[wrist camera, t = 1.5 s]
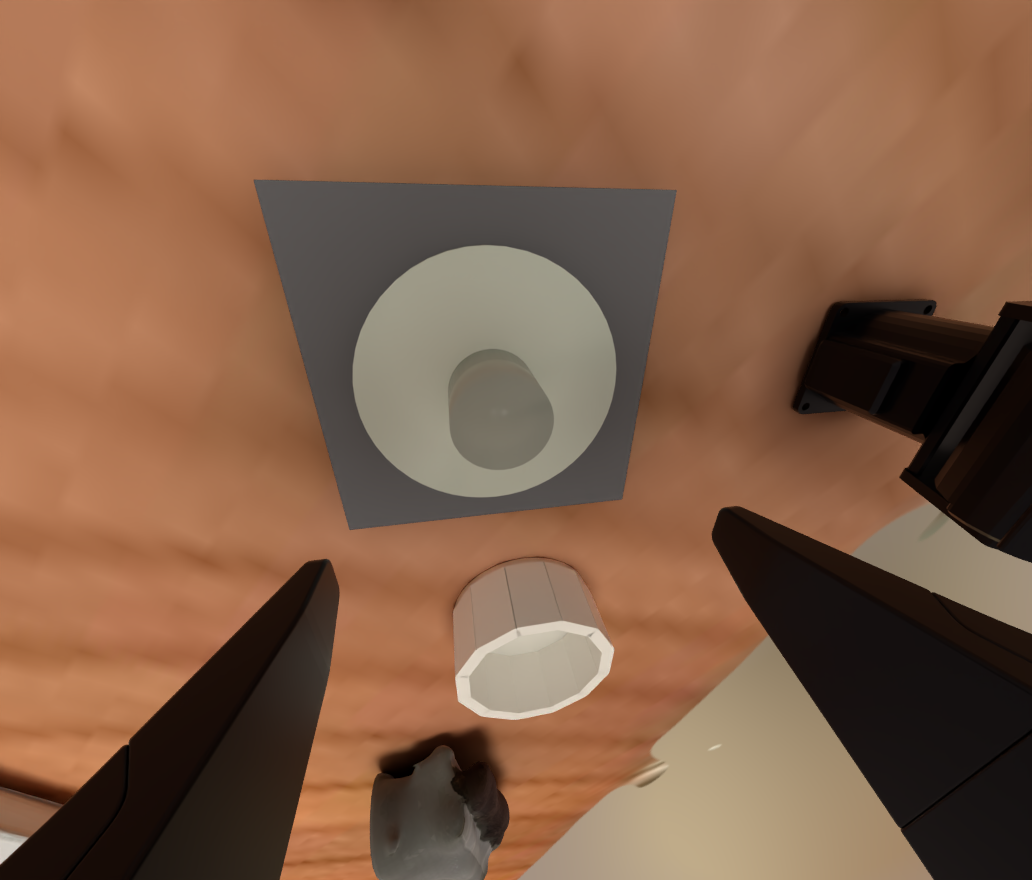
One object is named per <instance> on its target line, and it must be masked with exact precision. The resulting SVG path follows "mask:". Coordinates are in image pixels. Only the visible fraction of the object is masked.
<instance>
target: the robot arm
mask: <svg viewBox="0 0 1032 880" xmlns="http://www.w3.org/2000/svg"><path fill="white" fill-rule="evenodd" d="M935 309H936V302H935V301H933V300H927V299H915V300H879V301H843V302H838V303H836V304H835V305H834V306H833V307H832V308H831V310H830V312H829V315H828V317H827V320H826V322H825V325H824V328H823V330H822V333H821V335H820V338H819V340H818V343H817V345H816V348H815V351H814V353H813V356H812V358H811V361H810V363H809V366H808V368H807V371H806V374H805V376H804V379H803V381H802V384H801V386H800V389H799V391H798V394H797V396H796V399H795V402H794V404H793V410H794V411H796V412H798V413H800V414H811V413H823V412H835V411H849V412H851V413H854V414H856V415H858V416H860V417H863V418H865V419H867V420H870V421H872V422H874V423H876V424H879V425H881V426H883V427H885V428H888V429H890V430H892V431H894V432H897V433H899V434H901V435H904V436H906V437H908V438H910V439H913V440H915V441H917V442H919V443H922V445H921V447H920V449H919V450H918V452H917V453H916V455H915V457H914V458H913V460H912V462H911V463H910V465H909V466H908V468H904V470H903V472H902V473H901V475H900V477H899V478H900V479H902V480H903V481H904V482H905V483H907V484H908V485H909V486H910V487H912V488H913V489H914V490H915V491H916V492H918V493H919V494H920V495H921V496H923V497H924V498H925V499H926V500H928V501H929V502H930V503H932V504H933V505H934V506H935V507H937V508H938V509H939V510H940V511H942V512H943V513H944V514H945V515H947V516H948V517H949V518H950V519H952V520H953V521H954V522H956V523H957V524H958V525H959V526H961V527H962V528H963V529H964V530H966V531H967V532H968V533H970V534H971V535H972V536H973V537H975V538H976V539H977V540H978V541H980V542H981V543H983V544H984V545H986V546H988V547H991V548H994V549H998V550H1000V551H1002V552H1004V553H1007V554H1009V555H1012V556H1014V557H1017V558H1019V559H1022V560H1025V561H1028V562H1031V563H1032V301H1018V302H1006V303H1005V305H1004V306H1003V308H1002V309H1001V311H1000V313H999V314H998V315H999V316H1001V317H1000V318H999V320H998V322H997V323H996V325H995V326H994V327H991V326H985V325H980V324H974V323H968V322H962V321H957V320H951V319H945V318H939V317H933V316H932V315H933V313H934V311H935ZM840 312H841V313H840ZM712 540H713V543H714V545H715V546H716V548H717V550H718V552H719V554H720V556H721V557H722V559H723V561H724V563H725V565H726V566H727V568H728V570H729V572H730V574H731V576H732V577H733V579H734V581H735V583H736V585H737V586H738V588H739V590H740V592H741V593H742V595H743V597H744V599H745V600H746V602H747V603H748V605H749V606H750V608H751V610H752V611H753V612H754V614H755V615H756V617H757V618H758V620H759V621H760V623H761V624H762V626H763V627H764V629H765V630H766V632H767V633H768V635H769V636H770V638H771V639H772V641H773V642H774V643H775V645H776V646H777V648H778V649H779V651H780V652H781V654H782V655H783V657H784V658H785V660H786V661H787V663H788V664H789V666H790V667H791V669H792V670H793V671H794V673H795V675H796V676H797V678H798V679H799V681H800V682H801V683H802V685H803V686H804V688H805V689H806V691H807V692H808V694H809V695H810V697H811V698H812V700H813V701H814V703H815V704H816V706H817V707H818V709H819V710H820V712H821V713H822V714H823V716H824V717H825V719H826V720H827V722H828V723H829V725H830V726H831V728H832V729H833V730H834V732H835V734H836V735H837V737H838V738H839V739H840V741H841V743H842V744H843V746H844V747H845V748H846V750H847V752H848V753H849V754H850V756H851V757H852V759H853V760H854V762H855V763H856V765H857V766H858V768H859V769H860V771H861V772H862V774H863V775H864V777H865V778H866V780H867V781H868V783H869V784H870V786H871V787H872V788H873V790H874V791H875V793H876V794H877V796H878V797H879V799H880V800H881V802H882V803H883V805H884V806H885V808H886V809H887V811H888V812H889V814H890V815H891V817H892V818H893V820H894V821H895V823H896V824H897V825H898V827H900V828H901V832H902V833H903V835H904V836H905V838H906V839H907V841H908V842H909V844H910V845H911V847H912V848H913V850H914V851H915V853H916V854H917V855H918V857H919V859H920V860H921V862H922V863H923V864H924V866H925V867H926V869H927V870H928V872H929V873H930V875H931V876H932V878H933V879H934V880H1032V634H1030V633H1028V632H1025V631H1023V630H1021V629H1018V628H1016V627H1013V626H1010V625H1008V624H1006V623H1003V622H1001V621H998V620H996V619H994V618H992V617H989V616H987V615H985V614H982V613H980V612H978V611H975V610H973V609H971V608H968V607H966V606H963V605H961V604H959V603H957V602H955V601H952V600H950V599H948V598H946V597H943V596H941V595H938V594H936V593H933V592H932V593H931V592H930V591H929V590H927V589H925V588H923V587H921V586H918V585H916V584H914V583H912V582H909V581H907V580H905V579H902V578H900V577H898V576H895V575H894V574H891V573H889V572H887V571H884V570H882V569H880V568H878V567H875V566H873V565H871V564H869V563H866V562H864V561H862V560H860V559H857V558H855V557H853V556H851V555H848V554H846V553H844V552H842V551H839V550H837V549H835V548H833V547H830V546H828V545H826V544H824V543H821V542H819V541H817V540H815V539H812V538H810V537H808V536H806V535H803V534H801V533H799V532H796V531H794V530H792V529H790V528H787V527H785V526H783V525H781V524H778V523H776V522H774V521H772V520H769V519H767V518H765V517H763V516H760V515H758V514H756V513H754V512H751V511H749V510H747V509H745V508H742V507H739V506H732V507H725V508H722V509H721V510H720V511H719V513H718V516H717V519H716V522H715V525H714V528H713V531H712ZM338 604H339V585H338V582H337V579H336V576H335V573H334V570H333V566H332V564H331V562H330V561H329V560H328V559H321V560H313V561H309V562H307V563H305V564H304V565H303V566H302V567H301V568H300V569H299V570H298V571H297V572H296V573H295V574H294V575H293V576H292V577H291V578H290V579H289V580H288V581H287V582H286V583H285V584H284V585H283V586H282V587H281V588H280V589H279V590H278V591H277V592H276V593H275V594H274V595H273V596H272V597H271V598H270V599H269V600H268V601H267V602H266V603H265V604H264V605H263V606H262V607H261V608H260V609H259V610H258V611H257V612H256V613H255V614H254V615H253V616H252V617H251V618H250V619H249V620H248V621H247V622H246V623H245V624H244V625H243V626H242V627H241V628H240V629H239V630H238V631H237V632H236V633H235V634H234V635H233V636H232V637H231V638H230V639H229V640H228V641H227V642H226V643H225V644H224V645H223V646H222V647H221V648H220V649H219V650H218V651H217V652H216V653H215V654H214V655H213V656H212V657H211V658H210V659H209V660H208V661H207V662H206V663H205V664H204V665H203V666H202V667H201V668H200V669H199V670H198V671H197V672H196V673H195V674H194V675H193V676H192V677H191V678H190V679H189V680H188V681H187V682H186V683H185V684H184V685H183V686H182V687H181V688H180V689H179V690H178V691H177V692H176V693H175V694H174V695H173V696H172V697H171V698H170V699H169V700H168V701H167V702H166V703H165V704H164V705H163V706H162V707H161V708H160V709H159V710H158V711H157V712H156V713H155V714H154V715H153V716H152V717H151V718H150V719H149V720H148V721H147V722H146V723H145V724H144V726H143V727H142V728H141V729H140V730H139V731H138V732H137V733H136V734H135V735H134V736H133V737H132V738H131V739H130V740H129V745H124V746H122V747H121V748H120V749H119V750H118V751H117V752H116V753H115V754H114V755H113V756H112V757H111V758H110V759H109V760H108V761H107V762H106V763H105V764H104V765H103V766H102V767H101V768H100V769H99V770H98V771H97V772H96V773H95V774H94V775H93V776H92V777H91V778H90V779H89V780H88V781H87V782H86V783H85V784H84V785H83V786H82V787H81V788H80V789H79V790H78V791H77V792H76V793H75V794H74V795H73V796H72V797H71V798H70V799H69V800H68V801H67V802H66V803H65V804H64V805H63V806H62V807H61V808H60V809H59V810H58V811H57V812H56V813H54V814H53V815H52V816H51V817H50V818H49V819H48V820H47V821H46V822H45V823H44V824H43V825H42V826H41V827H40V828H39V829H38V830H37V831H36V832H35V833H33V834H32V835H31V836H30V837H29V838H28V839H27V840H26V841H25V842H24V843H23V844H22V845H21V846H19V847H18V848H17V849H16V850H15V851H14V852H13V853H12V854H11V855H10V856H9V857H8V858H7V859H6V860H4V861H3V862H2V863H1V864H0V880H280V876H281V872H282V867H283V863H284V859H285V855H286V851H287V847H288V843H289V838H290V834H291V830H292V826H293V822H294V818H295V814H296V810H297V805H298V801H299V797H300V793H301V789H302V785H303V781H304V777H305V772H306V768H307V764H308V760H309V756H310V752H311V748H312V743H313V739H314V735H315V731H316V727H317V723H318V719H319V715H320V710H321V706H322V702H323V698H324V694H325V690H326V686H327V681H328V676H329V671H330V665H331V658H332V650H333V642H334V635H335V627H336V619H337V611H338Z"/></svg>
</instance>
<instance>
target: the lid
mask: <svg viewBox="0 0 1032 880" xmlns="http://www.w3.org/2000/svg"><path fill="white" fill-rule="evenodd" d="M615 381H616V354H615V348H614V343H613V338H612V335H611V332H610V329H609V326H608V323H607V321H606V319H605V317H604V315H603V313H602V311H601V309H600V307H599V305H598V304H597V302H596V301H595V300H594V298H593V297H592V295H591V294H590V293H589V291H588V290H587V289H586V288H585V287H584V286H583V285H582V284H581V283H580V282H579V281H578V280H577V279H576V278H575V277H574V276H572V275H571V274H570V273H568V272H567V271H566V270H565V269H563V268H562V267H560V266H559V265H557V264H555V263H553V262H551V261H550V260H548V259H546V258H544V257H541V256H539V255H536V254H533V253H531V252H528V251H524V250H520V249H515V248H511V247H506V246H497V245H474V246H464V247H460V248H455V249H451V250H447V251H444V252H441V253H439V254H436V255H434V256H431V257H429V258H427V259H425V260H423V261H422V262H420V263H418V264H416V265H415V266H413V267H411V268H410V269H409V270H408V271H406V272H405V273H404V274H402V275H401V276H400V277H399V278H397V279H396V280H395V281H394V282H393V284H392V285H391V286H390V287H389V288H388V289H387V290H386V291H385V292H384V293H383V294H382V295H381V296H380V298H379V299H378V301H377V302H376V304H375V305H374V307H373V308H372V310H371V311H370V312H369V314H368V316H367V318H366V321H365V323H364V325H363V327H362V329H361V331H360V335H359V338H358V341H357V344H356V348H355V354H354V361H353V389H354V396H355V402H356V405H357V409H358V412H359V415H360V418H361V420H362V422H363V425H364V427H365V429H366V431H367V433H368V435H369V436H370V438H371V439H372V441H373V442H374V444H375V446H376V447H377V448H378V449H379V450H380V452H381V453H382V454H383V455H384V456H385V458H387V459H388V460H389V461H390V462H391V463H392V464H393V465H394V466H395V467H396V468H397V469H399V470H400V471H402V472H403V473H404V474H406V475H407V476H409V477H410V478H412V479H414V480H415V481H417V482H419V483H421V484H423V485H425V486H428V487H430V488H433V489H435V490H438V491H441V492H445V493H448V494H452V495H459V496H465V497H497V496H503V495H509V494H513V493H517V492H521V491H524V490H527V489H529V488H532V487H535V486H537V485H539V484H541V483H543V482H545V481H547V480H549V479H551V478H552V477H554V476H555V475H557V474H559V473H560V472H562V471H563V470H564V469H566V468H567V467H568V466H569V465H570V464H572V463H573V462H574V461H575V460H576V459H577V458H578V457H579V456H580V455H581V454H582V453H583V452H584V451H585V450H586V448H587V447H588V446H589V445H590V443H591V442H592V441H593V439H594V438H595V436H596V435H597V433H598V431H599V430H600V428H601V426H602V424H603V422H604V420H605V418H606V416H607V414H608V411H609V408H610V405H611V402H612V398H613V393H614V388H615Z"/></svg>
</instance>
